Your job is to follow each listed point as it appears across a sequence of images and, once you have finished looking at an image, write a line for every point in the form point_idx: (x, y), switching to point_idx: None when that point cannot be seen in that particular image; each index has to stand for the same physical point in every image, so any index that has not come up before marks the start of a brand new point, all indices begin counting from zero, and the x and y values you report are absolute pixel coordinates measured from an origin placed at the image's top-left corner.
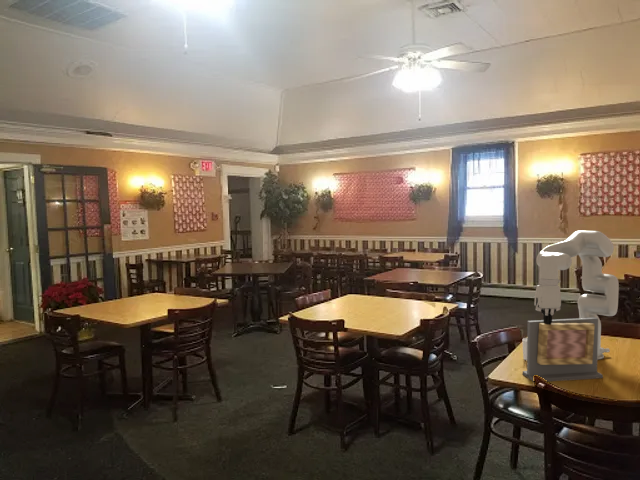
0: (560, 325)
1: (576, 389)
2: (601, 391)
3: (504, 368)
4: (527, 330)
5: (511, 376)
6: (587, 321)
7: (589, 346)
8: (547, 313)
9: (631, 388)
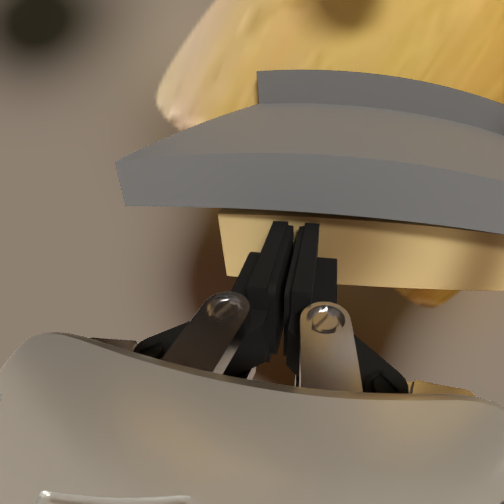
0: (410, 282)
1: None
2: None
3: (218, 13)
4: (168, 137)
5: (212, 89)
6: None
7: None
8: (244, 376)
9: None
